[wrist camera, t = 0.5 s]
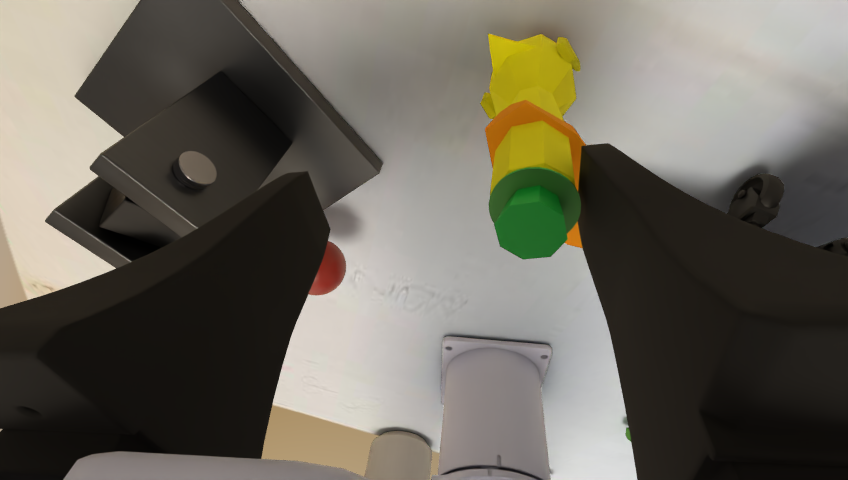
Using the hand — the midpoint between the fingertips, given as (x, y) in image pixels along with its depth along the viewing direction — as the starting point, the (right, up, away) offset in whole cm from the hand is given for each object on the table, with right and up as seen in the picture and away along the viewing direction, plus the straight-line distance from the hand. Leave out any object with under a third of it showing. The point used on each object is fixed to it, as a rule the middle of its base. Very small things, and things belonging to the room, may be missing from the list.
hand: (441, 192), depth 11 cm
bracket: (-10, +5, +11) cm, 16 cm away
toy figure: (+5, +6, +7) cm, 11 cm away
